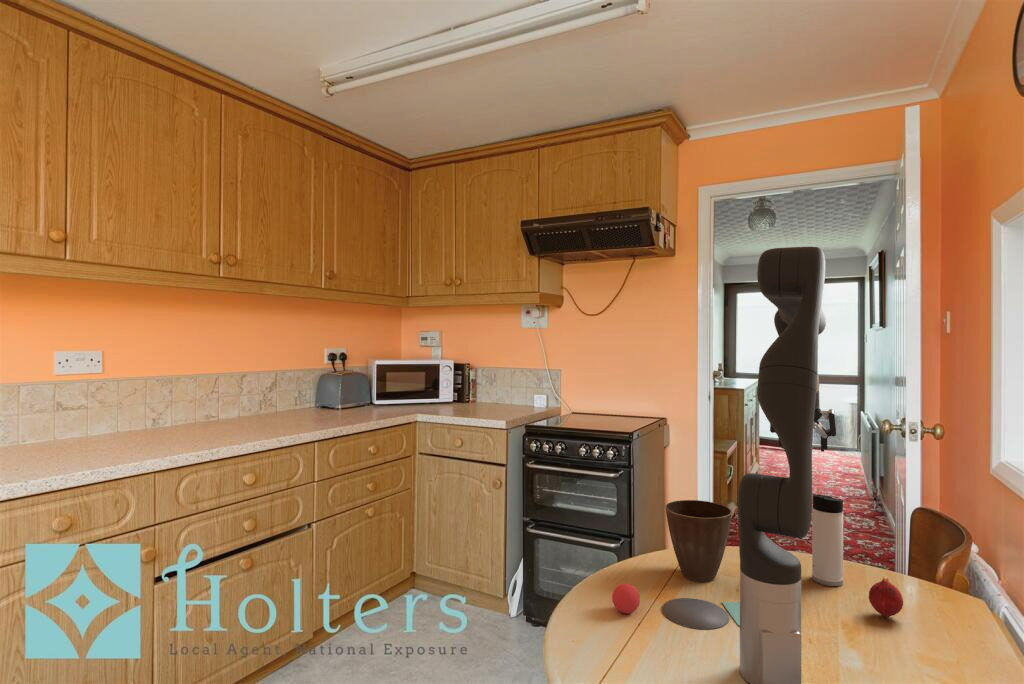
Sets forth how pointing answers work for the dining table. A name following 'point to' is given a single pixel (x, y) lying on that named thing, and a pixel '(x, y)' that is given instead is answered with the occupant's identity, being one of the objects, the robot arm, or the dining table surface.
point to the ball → (626, 598)
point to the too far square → (733, 610)
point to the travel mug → (827, 540)
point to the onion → (885, 598)
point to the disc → (695, 613)
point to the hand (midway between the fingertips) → (802, 448)
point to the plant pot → (698, 536)
